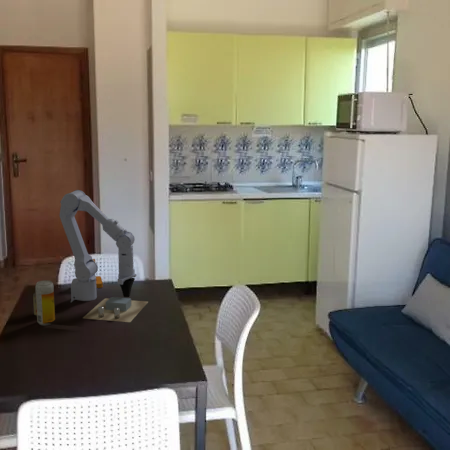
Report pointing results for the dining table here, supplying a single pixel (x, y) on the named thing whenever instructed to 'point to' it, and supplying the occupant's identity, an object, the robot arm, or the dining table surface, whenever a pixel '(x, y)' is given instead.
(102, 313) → the bench dogs
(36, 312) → the lighter
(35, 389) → the dining table surface
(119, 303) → the bevelled grey block
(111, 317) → the board
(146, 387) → the dining table surface
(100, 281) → the bracket
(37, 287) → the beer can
